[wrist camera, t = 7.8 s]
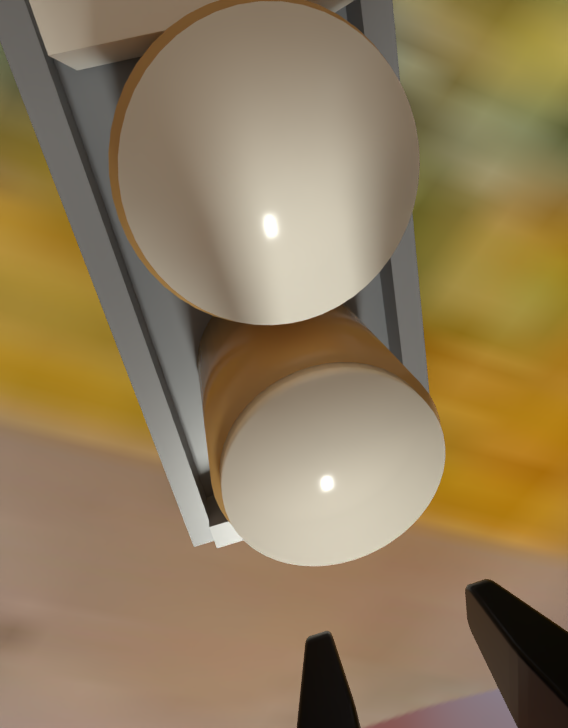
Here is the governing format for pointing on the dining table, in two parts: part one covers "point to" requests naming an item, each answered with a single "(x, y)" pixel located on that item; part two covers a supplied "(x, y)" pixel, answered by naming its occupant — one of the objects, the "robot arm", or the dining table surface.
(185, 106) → the amber jar
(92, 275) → the tray
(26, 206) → the dining table surface
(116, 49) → the pusher
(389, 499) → the amber jar
